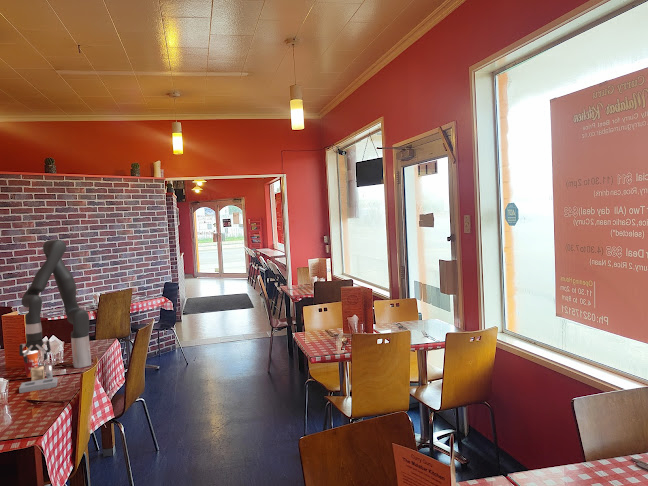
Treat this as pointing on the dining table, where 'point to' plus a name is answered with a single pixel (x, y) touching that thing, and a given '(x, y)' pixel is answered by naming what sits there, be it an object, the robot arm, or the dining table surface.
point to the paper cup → (31, 361)
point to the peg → (49, 371)
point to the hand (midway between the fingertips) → (35, 361)
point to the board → (38, 385)
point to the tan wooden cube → (37, 373)
